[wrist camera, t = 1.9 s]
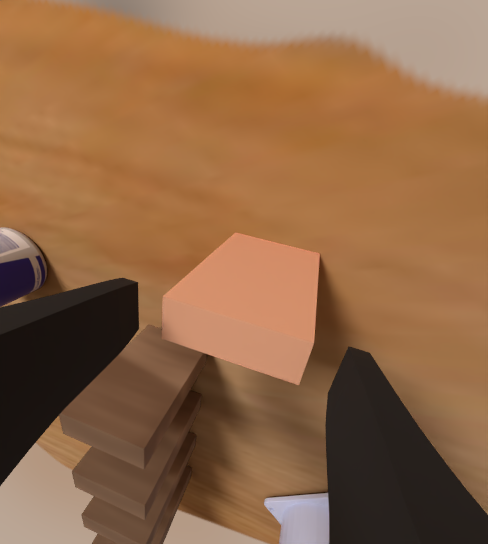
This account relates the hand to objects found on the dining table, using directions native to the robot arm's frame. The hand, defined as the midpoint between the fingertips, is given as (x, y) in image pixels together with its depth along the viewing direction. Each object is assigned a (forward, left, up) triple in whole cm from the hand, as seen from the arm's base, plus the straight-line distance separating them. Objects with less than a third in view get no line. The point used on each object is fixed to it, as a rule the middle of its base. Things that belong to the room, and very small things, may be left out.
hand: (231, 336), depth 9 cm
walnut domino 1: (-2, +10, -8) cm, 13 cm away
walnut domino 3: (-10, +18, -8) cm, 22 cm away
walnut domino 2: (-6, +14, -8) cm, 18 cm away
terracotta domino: (0, 0, -8) cm, 8 cm away
